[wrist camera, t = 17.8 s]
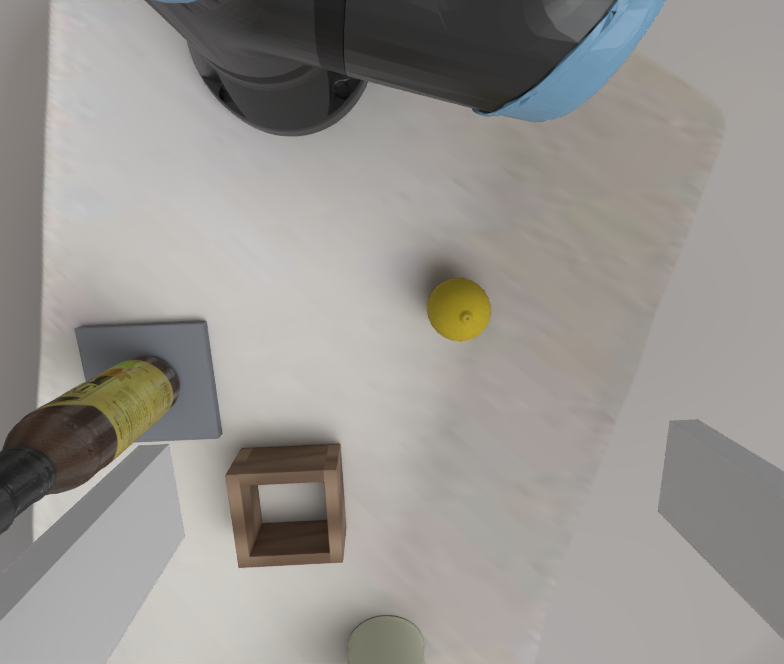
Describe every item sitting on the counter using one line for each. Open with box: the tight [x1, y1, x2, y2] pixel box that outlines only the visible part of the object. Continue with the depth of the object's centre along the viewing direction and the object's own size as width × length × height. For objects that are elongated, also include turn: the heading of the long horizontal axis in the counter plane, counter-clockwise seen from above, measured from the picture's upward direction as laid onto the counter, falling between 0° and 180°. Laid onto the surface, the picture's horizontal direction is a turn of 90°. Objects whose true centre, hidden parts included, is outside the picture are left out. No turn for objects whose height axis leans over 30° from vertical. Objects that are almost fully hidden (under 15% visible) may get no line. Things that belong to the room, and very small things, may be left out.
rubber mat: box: [75, 322, 222, 442], centre depth 43 cm, size 12×12×1 cm
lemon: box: [427, 278, 491, 341], centre depth 39 cm, size 6×6×8 cm
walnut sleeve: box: [226, 444, 346, 568], centre depth 45 cm, size 10×10×5 cm
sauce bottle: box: [0, 356, 180, 534], centre depth 33 cm, size 6×6×20 cm
